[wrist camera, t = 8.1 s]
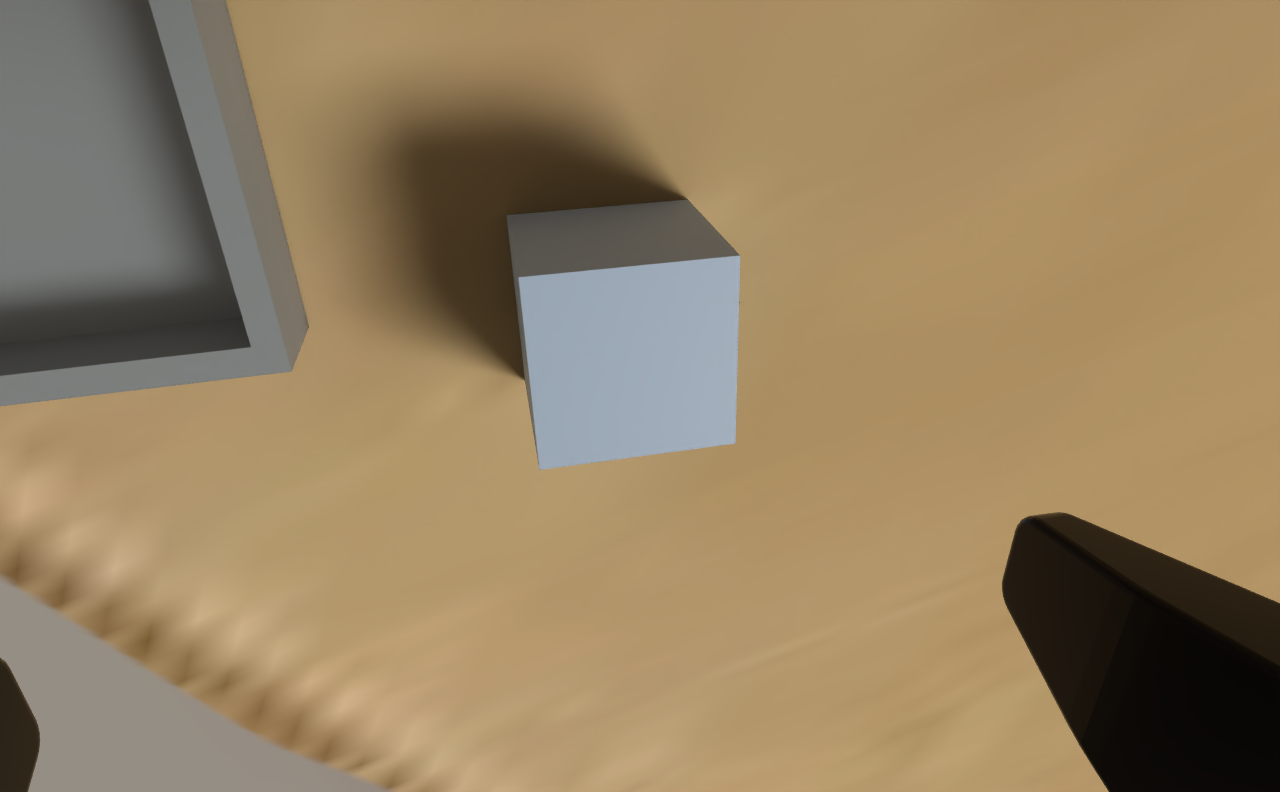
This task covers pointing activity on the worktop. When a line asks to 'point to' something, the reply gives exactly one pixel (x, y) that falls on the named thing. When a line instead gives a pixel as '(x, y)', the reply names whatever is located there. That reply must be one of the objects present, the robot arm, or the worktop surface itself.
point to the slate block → (626, 330)
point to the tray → (134, 204)
